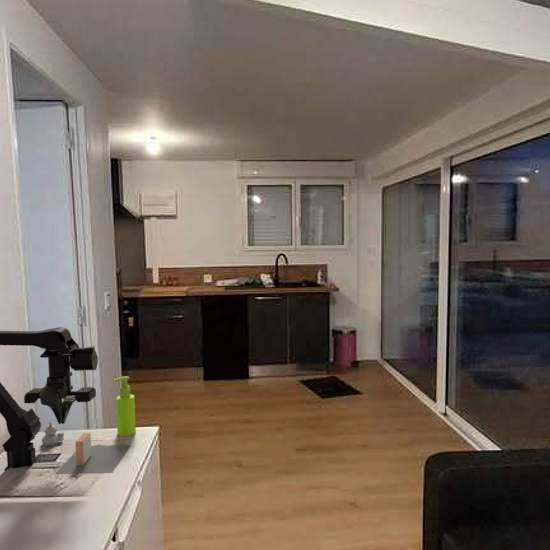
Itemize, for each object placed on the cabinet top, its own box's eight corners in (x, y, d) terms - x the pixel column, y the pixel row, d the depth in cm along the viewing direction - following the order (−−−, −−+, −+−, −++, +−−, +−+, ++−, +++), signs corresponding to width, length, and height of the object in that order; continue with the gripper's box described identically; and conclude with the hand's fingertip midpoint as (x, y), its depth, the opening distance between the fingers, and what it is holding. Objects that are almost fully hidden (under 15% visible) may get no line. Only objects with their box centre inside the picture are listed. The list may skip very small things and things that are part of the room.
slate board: (54, 476, 130) (54, 473, 130) (80, 448, 148) (80, 446, 148) (112, 475, 130) (112, 472, 130) (131, 447, 148) (131, 445, 148)
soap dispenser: (111, 435, 158) (109, 377, 157) (131, 429, 163) (128, 373, 161) (119, 440, 154) (116, 380, 152) (138, 434, 158) (136, 376, 157)
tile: (76, 465, 135) (75, 441, 135) (84, 455, 141) (83, 433, 141) (84, 464, 135) (82, 441, 135) (91, 455, 141) (90, 433, 141)
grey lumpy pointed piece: (43, 443, 153) (42, 419, 152) (65, 440, 155) (64, 416, 154) (40, 450, 147) (39, 425, 147) (63, 447, 149) (62, 422, 149)
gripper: (12, 380, 128) (15, 435, 129) (80, 378, 128) (83, 434, 129) (32, 369, 139) (35, 420, 140) (95, 368, 140) (97, 419, 141)
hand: (62, 423), depth 137 cm, fingers closed
